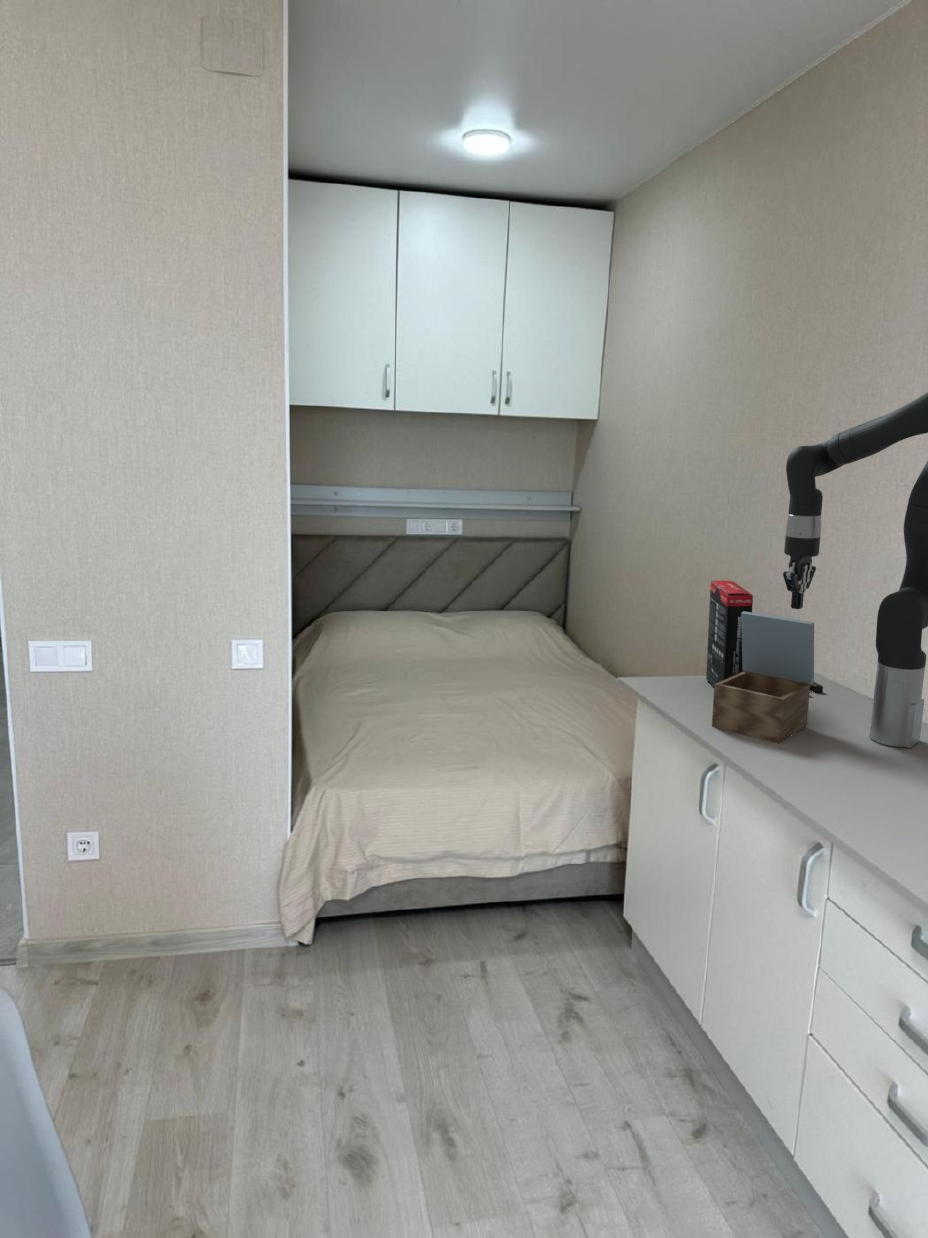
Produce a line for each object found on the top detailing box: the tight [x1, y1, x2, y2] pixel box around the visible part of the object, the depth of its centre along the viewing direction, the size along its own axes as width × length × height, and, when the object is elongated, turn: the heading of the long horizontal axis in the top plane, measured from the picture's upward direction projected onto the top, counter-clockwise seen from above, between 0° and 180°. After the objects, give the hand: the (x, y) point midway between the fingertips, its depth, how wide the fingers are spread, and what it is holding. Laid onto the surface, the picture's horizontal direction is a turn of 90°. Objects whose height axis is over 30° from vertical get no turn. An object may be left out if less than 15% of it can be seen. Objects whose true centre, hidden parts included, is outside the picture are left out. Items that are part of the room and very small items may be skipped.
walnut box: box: [711, 671, 811, 744], centre depth 202 cm, size 16×14×10 cm
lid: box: [741, 611, 815, 686], centre depth 204 cm, size 17×15×1 cm
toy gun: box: [810, 681, 824, 694], centre depth 229 cm, size 10×12×5 cm
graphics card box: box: [705, 580, 754, 689], centre depth 227 cm, size 17×7×27 cm, turn 0°
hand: (796, 608), depth 208 cm, fingers closed
